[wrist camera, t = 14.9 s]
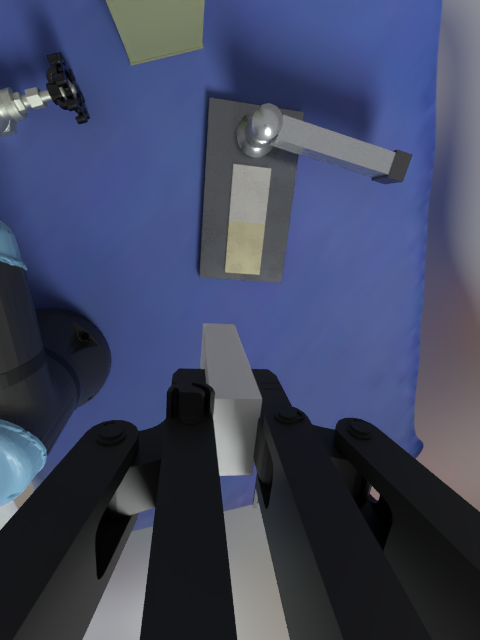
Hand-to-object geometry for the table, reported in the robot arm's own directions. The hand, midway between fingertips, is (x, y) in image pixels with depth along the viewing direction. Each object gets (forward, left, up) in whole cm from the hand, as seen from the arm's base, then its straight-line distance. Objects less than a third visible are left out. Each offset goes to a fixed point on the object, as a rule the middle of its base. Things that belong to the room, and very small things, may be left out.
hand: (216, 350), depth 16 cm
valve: (-20, +16, -33) cm, 42 cm away
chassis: (+6, +9, -32) cm, 34 cm away
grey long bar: (+14, +15, -30) cm, 36 cm away
